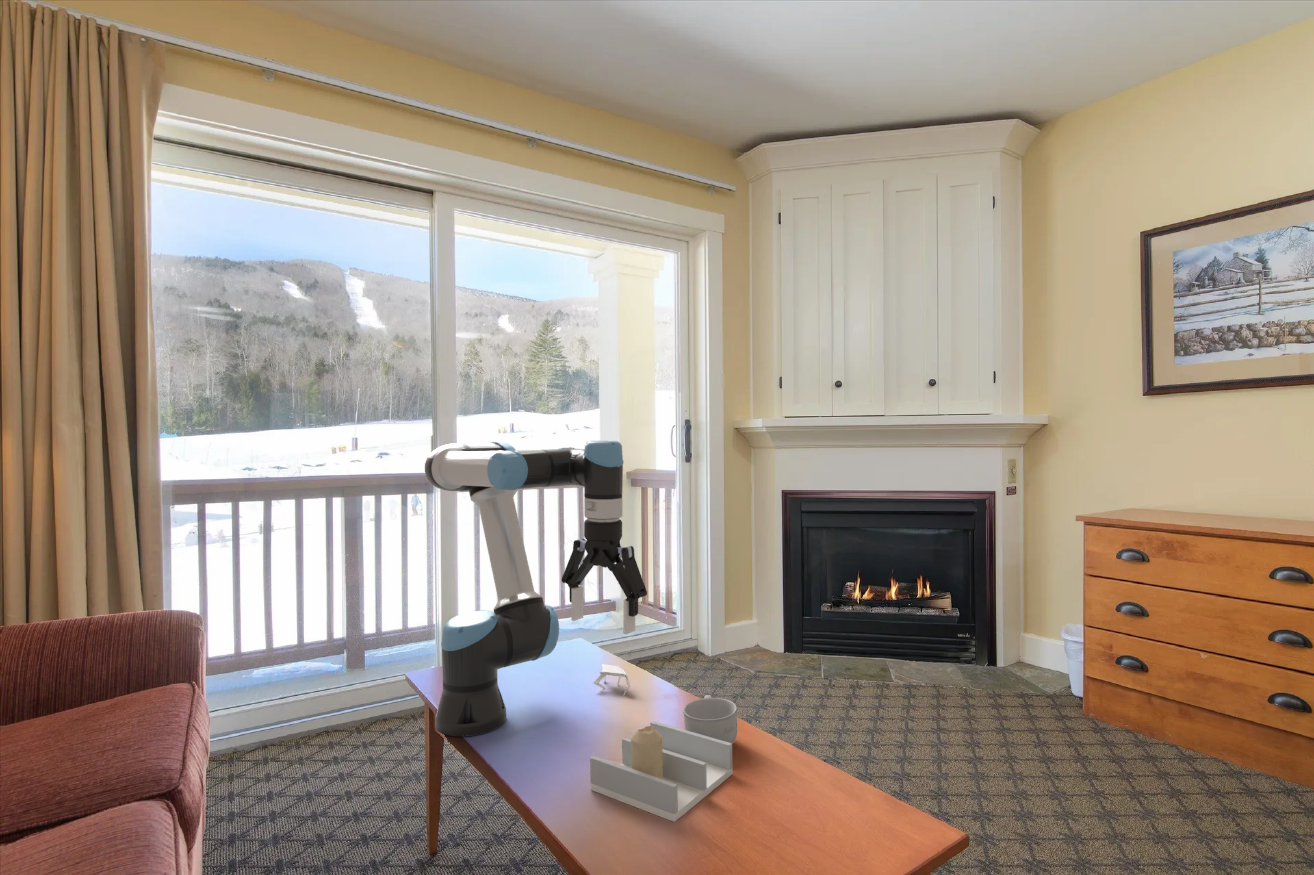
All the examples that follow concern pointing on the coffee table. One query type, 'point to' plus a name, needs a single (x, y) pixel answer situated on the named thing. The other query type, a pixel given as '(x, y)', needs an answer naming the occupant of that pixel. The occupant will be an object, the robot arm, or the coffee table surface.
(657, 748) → the candle
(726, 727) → the teacup
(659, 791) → the slot rack
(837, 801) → the coffee table surface
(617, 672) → the origami figure
